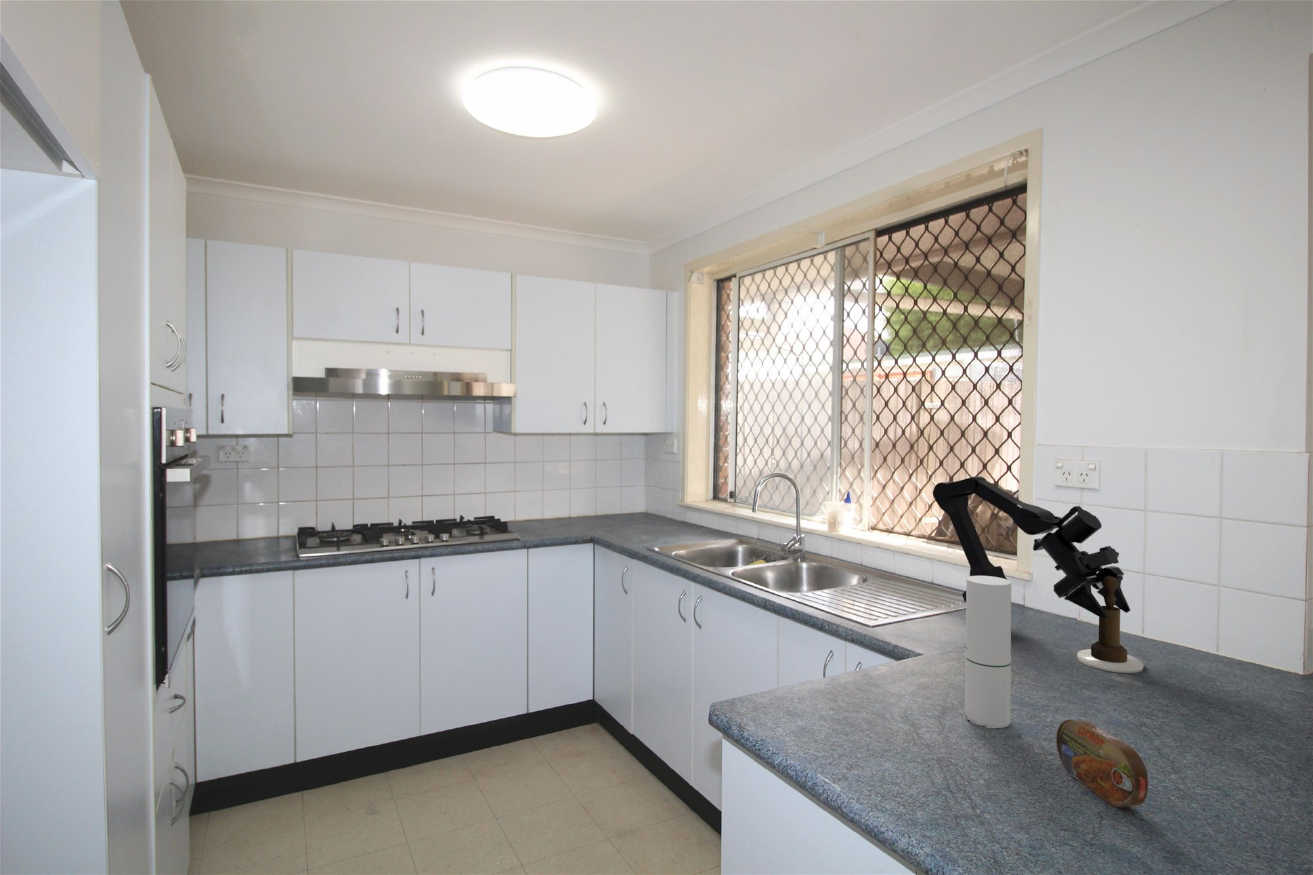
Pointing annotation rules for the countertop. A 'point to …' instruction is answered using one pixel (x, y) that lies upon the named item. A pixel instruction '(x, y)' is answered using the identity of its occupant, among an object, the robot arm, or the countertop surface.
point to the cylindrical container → (988, 649)
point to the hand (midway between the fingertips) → (1117, 614)
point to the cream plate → (1110, 663)
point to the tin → (1102, 763)
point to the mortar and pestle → (1109, 628)
